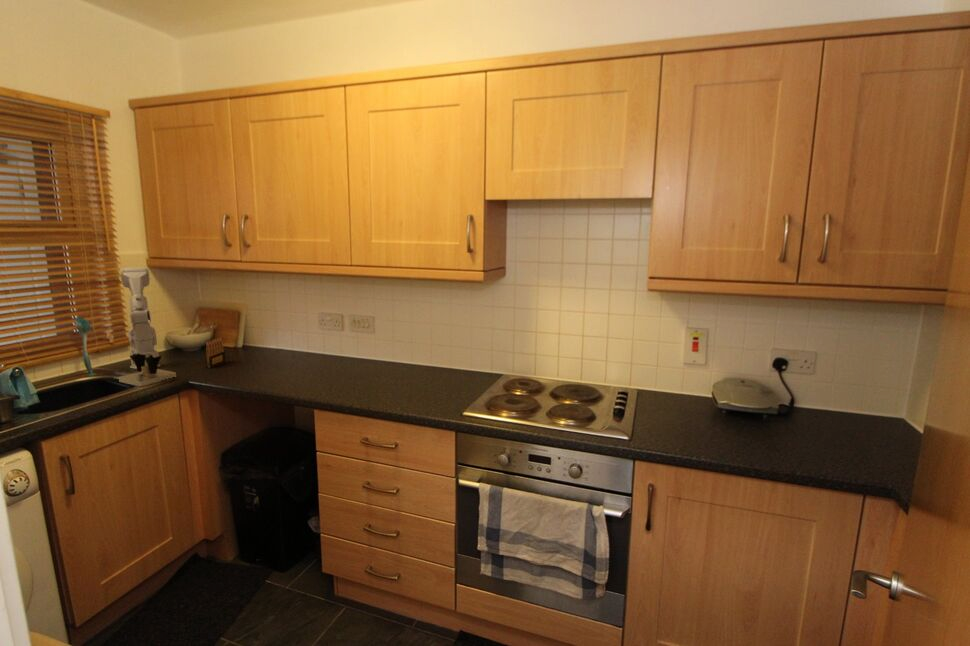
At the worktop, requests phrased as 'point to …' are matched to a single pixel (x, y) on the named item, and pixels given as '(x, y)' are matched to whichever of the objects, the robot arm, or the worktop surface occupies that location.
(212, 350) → the ammunition clip
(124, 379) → the plate with square hole
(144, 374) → the wooden block
